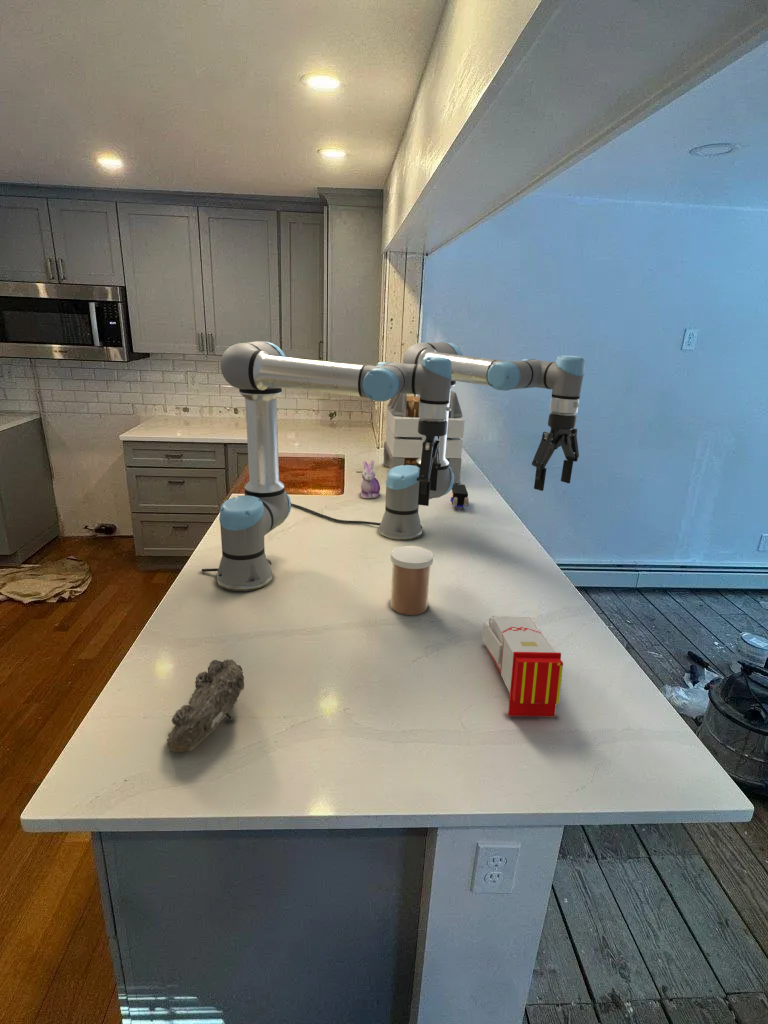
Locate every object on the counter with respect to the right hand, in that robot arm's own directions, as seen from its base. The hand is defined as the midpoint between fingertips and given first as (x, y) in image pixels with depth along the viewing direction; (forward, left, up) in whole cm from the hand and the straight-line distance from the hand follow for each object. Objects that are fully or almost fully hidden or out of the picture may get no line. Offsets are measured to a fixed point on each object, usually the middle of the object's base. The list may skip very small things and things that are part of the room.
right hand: (552, 485), depth 166 cm
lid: (-9, -47, -13) cm, 50 cm away
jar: (-9, -47, -28) cm, 55 cm away
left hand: (-15, -37, -1) cm, 40 cm away
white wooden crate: (-101, +46, -28) cm, 115 cm away
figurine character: (-57, +26, -28) cm, 69 cm away
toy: (+28, -49, -28) cm, 63 cm away
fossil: (0, -107, -28) cm, 110 cm away
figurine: (-87, +4, -28) cm, 92 cm away
